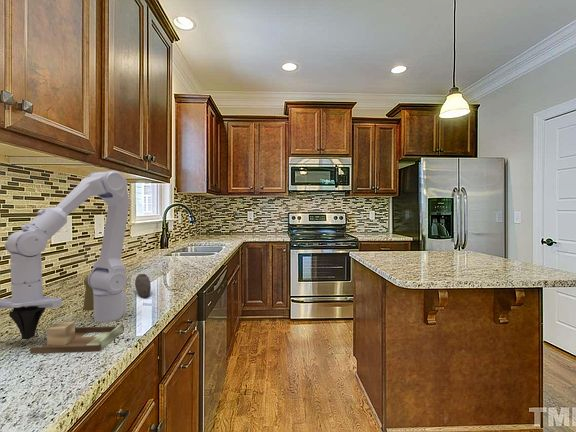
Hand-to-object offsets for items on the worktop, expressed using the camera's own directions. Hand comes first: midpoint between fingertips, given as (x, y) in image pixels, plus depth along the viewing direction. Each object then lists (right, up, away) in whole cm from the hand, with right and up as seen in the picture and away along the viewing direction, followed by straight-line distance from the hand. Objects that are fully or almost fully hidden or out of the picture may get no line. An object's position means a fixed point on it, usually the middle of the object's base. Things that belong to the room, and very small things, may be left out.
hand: (28, 337), depth 77 cm
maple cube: (+7, -1, +1) cm, 8 cm away
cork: (-3, -2, +31) cm, 32 cm away
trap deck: (+12, -3, +1) cm, 12 cm away
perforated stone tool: (+6, -1, +47) cm, 48 cm away
